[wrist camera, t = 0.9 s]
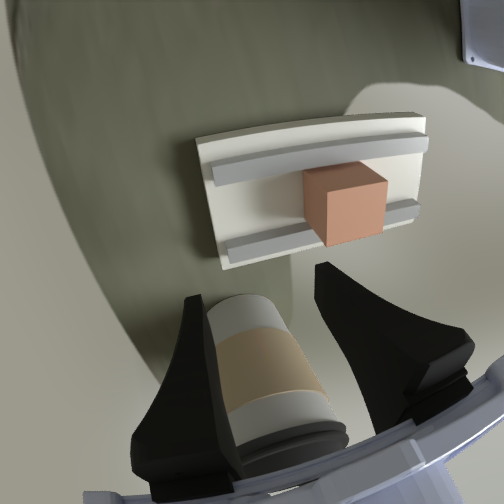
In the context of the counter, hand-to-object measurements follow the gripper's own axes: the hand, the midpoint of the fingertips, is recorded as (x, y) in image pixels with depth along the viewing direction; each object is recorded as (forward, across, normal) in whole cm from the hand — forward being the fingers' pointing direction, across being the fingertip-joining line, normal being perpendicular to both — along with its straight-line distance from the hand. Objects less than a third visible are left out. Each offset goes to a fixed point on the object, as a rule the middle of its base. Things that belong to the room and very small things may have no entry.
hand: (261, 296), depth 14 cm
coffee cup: (+10, 0, +12) cm, 15 cm away
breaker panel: (+9, -7, 0) cm, 12 cm away
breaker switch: (+8, -7, 0) cm, 10 cm away
